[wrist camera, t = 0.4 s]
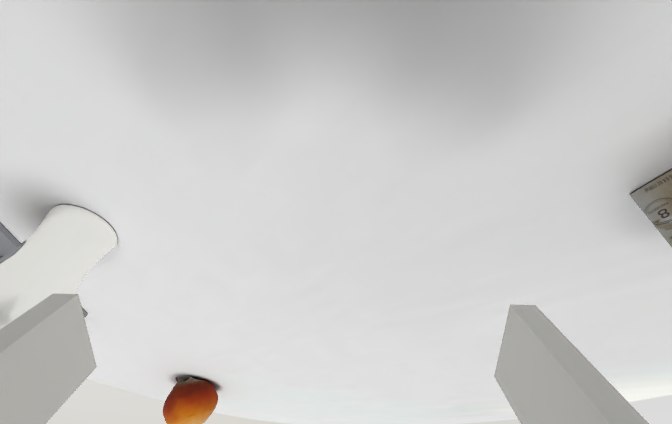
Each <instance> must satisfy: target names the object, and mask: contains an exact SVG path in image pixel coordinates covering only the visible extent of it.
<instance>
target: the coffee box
mask: <svg viewBox="0 0 672 424" xmlns="http://www.w3.org/2000/svg"><path fill="white" fill-rule="evenodd" d="M631 197H632V199H633V200H634V201H635V202H636V203H637V205H638V206H639V207H640V208H641V210H642V211H643V212H644V213H645V214H646V216H647V217H648V218H649V219H650V220H651V222H652V223H653V224H654V225H655V227H656V228H657V229H658V231H659V232H660V233H661V234H662V236H663V237H664V238H665V239H666V241H667V242H668V243H669V244H670V245H671V247H672V170H671V171H669V172H667V173H666V174H664V175H662V176H661V177H659V178H657V179H655V180H654V181H652V182H650V183H648V184H647V185H645V186H643V187H642V188H640V189H638V190H637V191H635V192H633V193H632V194H631Z"/></svg>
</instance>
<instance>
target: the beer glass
mask: <svg viewBox="0 0 672 424" xmlns="http://www.w3.org/2000/svg"><path fill="white" fill-rule="evenodd" d="M116 244H117V235H116V233H115V231H114V230H113V228H112V227H111V226H110V225H109V224H108V223H107V222H106V221H105V220H104V219H102V218H101V217H99V216H98V215H96V214H94V213H93V212H91V211H89V210H86V209H84V208H81V207H77V206H73V205H58V206H55V207H53V208H52V209H51V210H50V211H49V212H48V214H47V215H46V216H45V218H44V219H43V221H42V222H41V224H40V225H39V227H38V228H37V229H36V230H35V231H34V233H33V234H32V235H31V236H30V237H29V238H28V239H26V240H25V241H24V242H23V243H22V244H20V245H19V246H18V247H16V248H15V249H14V250H12V251H11V252H9V253H8V254H6V255H5V256H3V257H2V258H0V329H2V328H3V327H5V326H6V325H7V324H9V323H10V322H12V321H13V320H15V319H16V318H18V317H19V316H21V315H22V314H24V313H25V312H26V311H28V310H29V309H31V308H32V307H34V306H35V305H37V304H38V303H40V302H41V301H43V300H44V299H46V298H47V297H48V296H50V295H51V294H75V293H76V291H77V290H78V288H79V286H80V284H81V283H82V281H83V279H84V278H85V276H86V275H87V273H88V272H89V271H90V270H91V268H92V267H93V266H94V265H95V264H96V263H97V262H98V261H99V260H100V259H101V258H103V257H104V256H105V255H106V254H107V253H109V252H110V251H111V250H112V249H113V248H114V247H115V246H116Z"/></svg>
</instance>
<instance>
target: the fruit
mask: <svg viewBox="0 0 672 424" xmlns="http://www.w3.org/2000/svg"><path fill="white" fill-rule="evenodd" d="M176 380H177V384H176V385H175V386H174V388H173V390H172V391H171V393H170V394H169V395H168V397H167V399H166V401H165V404H164V407H163V415H164V418H165V421H166V423H167V424H202V423H204V422H205V421H206V420H207V419H208V417H209V416H210V415H211V414H212V412H213V411H214V409H215V407H216V405H217V401H218V395H217V393H216V390H215V388H214V386H213V385H212V384H211V383H210V382H208V381H205V380H198V379H195V378H192V377H191V376H190V377H189V379H188V380H186V381H185V382H182V381H179V380H178V379H177V378H176Z"/></svg>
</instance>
